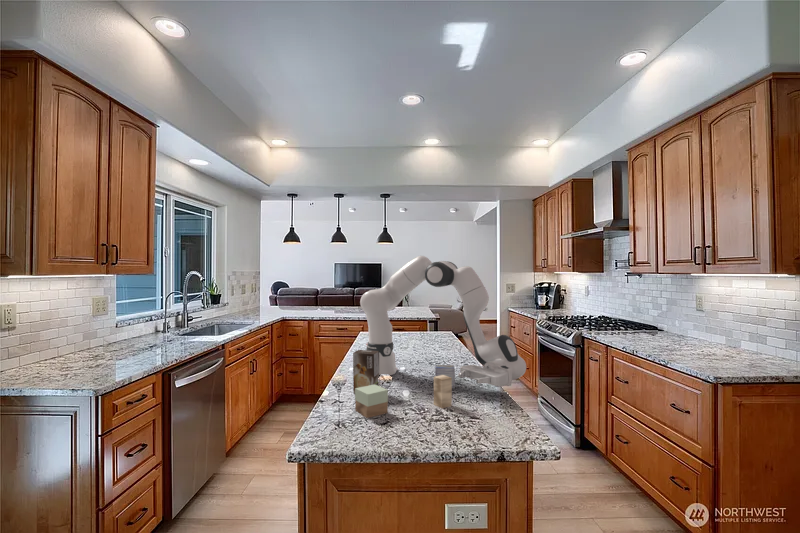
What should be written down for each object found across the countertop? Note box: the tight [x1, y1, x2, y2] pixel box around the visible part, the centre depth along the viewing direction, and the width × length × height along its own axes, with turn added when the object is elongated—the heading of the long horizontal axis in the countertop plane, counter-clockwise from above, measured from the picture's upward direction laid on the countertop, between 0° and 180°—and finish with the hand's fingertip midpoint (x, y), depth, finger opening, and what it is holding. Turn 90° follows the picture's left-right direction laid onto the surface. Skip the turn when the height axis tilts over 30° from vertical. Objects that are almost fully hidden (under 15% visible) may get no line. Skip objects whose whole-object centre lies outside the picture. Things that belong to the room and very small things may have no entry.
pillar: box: [433, 375, 453, 409], centre depth 142 cm, size 4×4×10 cm
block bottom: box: [354, 399, 389, 419], centre depth 136 cm, size 8×8×4 cm
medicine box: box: [434, 364, 456, 390], centre depth 164 cm, size 8×4×9 cm, turn 84°
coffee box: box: [352, 349, 380, 395], centre depth 157 cm, size 9×6×16 cm
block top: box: [354, 384, 389, 407], centre depth 136 cm, size 8×8×4 cm
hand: (468, 378), depth 149 cm, fingers open, 8 cm apart
